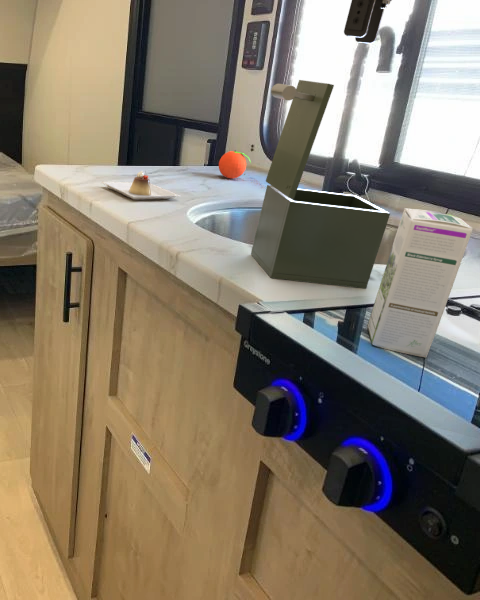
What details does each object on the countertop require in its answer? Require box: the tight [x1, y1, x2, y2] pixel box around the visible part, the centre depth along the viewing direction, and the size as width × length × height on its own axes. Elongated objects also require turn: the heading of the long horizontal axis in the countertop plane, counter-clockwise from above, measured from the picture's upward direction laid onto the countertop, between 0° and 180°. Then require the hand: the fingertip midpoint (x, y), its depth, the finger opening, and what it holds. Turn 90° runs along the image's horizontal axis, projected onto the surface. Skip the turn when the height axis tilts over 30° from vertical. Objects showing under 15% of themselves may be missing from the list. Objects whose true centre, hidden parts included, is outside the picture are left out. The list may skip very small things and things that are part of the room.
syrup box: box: [366, 207, 474, 358], centre depth 64 cm, size 6×6×14 cm
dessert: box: [101, 170, 181, 201], centre depth 123 cm, size 12×12×5 cm
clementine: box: [218, 150, 252, 180], centre depth 153 cm, size 8×7×7 cm
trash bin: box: [250, 184, 391, 289], centre depth 86 cm, size 14×11×11 cm
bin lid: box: [265, 79, 335, 199], centre depth 80 cm, size 14×11×5 cm
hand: (359, 39), depth 67 cm, fingers open, 8 cm apart
